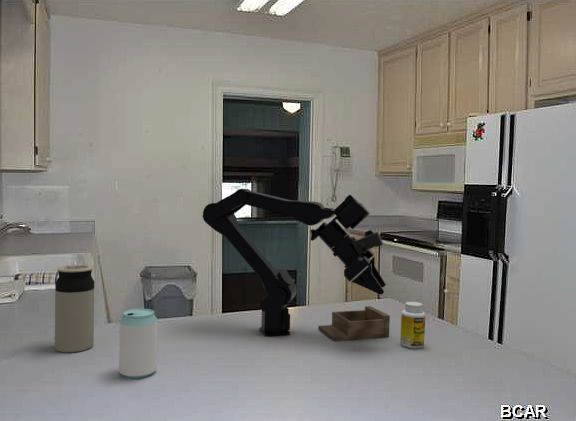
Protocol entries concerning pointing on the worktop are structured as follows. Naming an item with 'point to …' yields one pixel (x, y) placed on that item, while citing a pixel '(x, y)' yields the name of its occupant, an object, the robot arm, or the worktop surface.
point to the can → (138, 343)
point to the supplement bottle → (412, 326)
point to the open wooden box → (357, 325)
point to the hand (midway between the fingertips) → (383, 289)
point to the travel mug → (74, 308)
